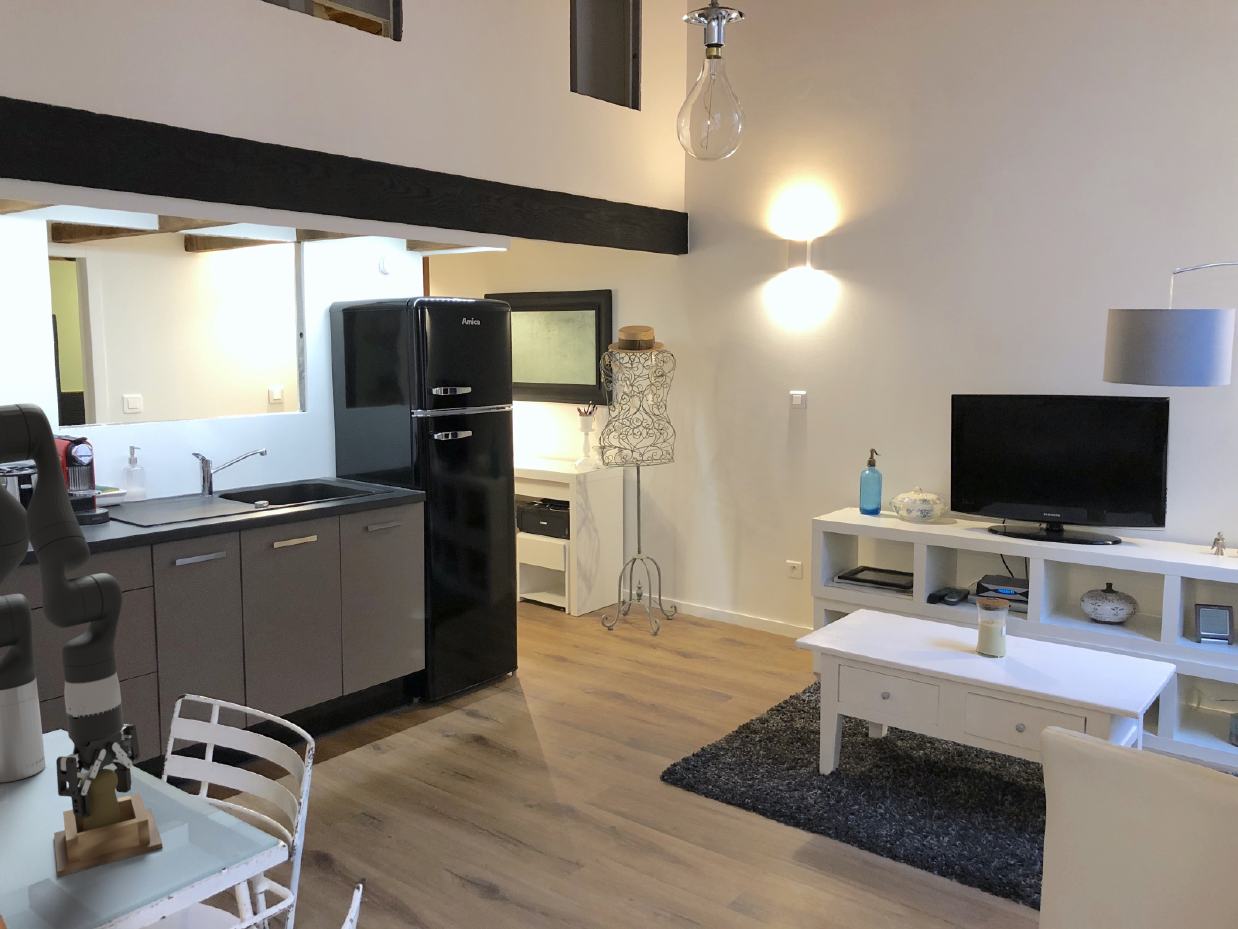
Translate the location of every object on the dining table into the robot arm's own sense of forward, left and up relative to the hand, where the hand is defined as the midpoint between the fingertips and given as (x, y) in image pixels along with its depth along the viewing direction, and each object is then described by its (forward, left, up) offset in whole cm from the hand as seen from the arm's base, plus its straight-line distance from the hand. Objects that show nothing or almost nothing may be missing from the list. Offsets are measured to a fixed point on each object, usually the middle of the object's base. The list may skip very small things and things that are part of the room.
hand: (103, 804), depth 149 cm
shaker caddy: (0, 0, -6) cm, 6 cm away
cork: (0, 0, -6) cm, 6 cm away
